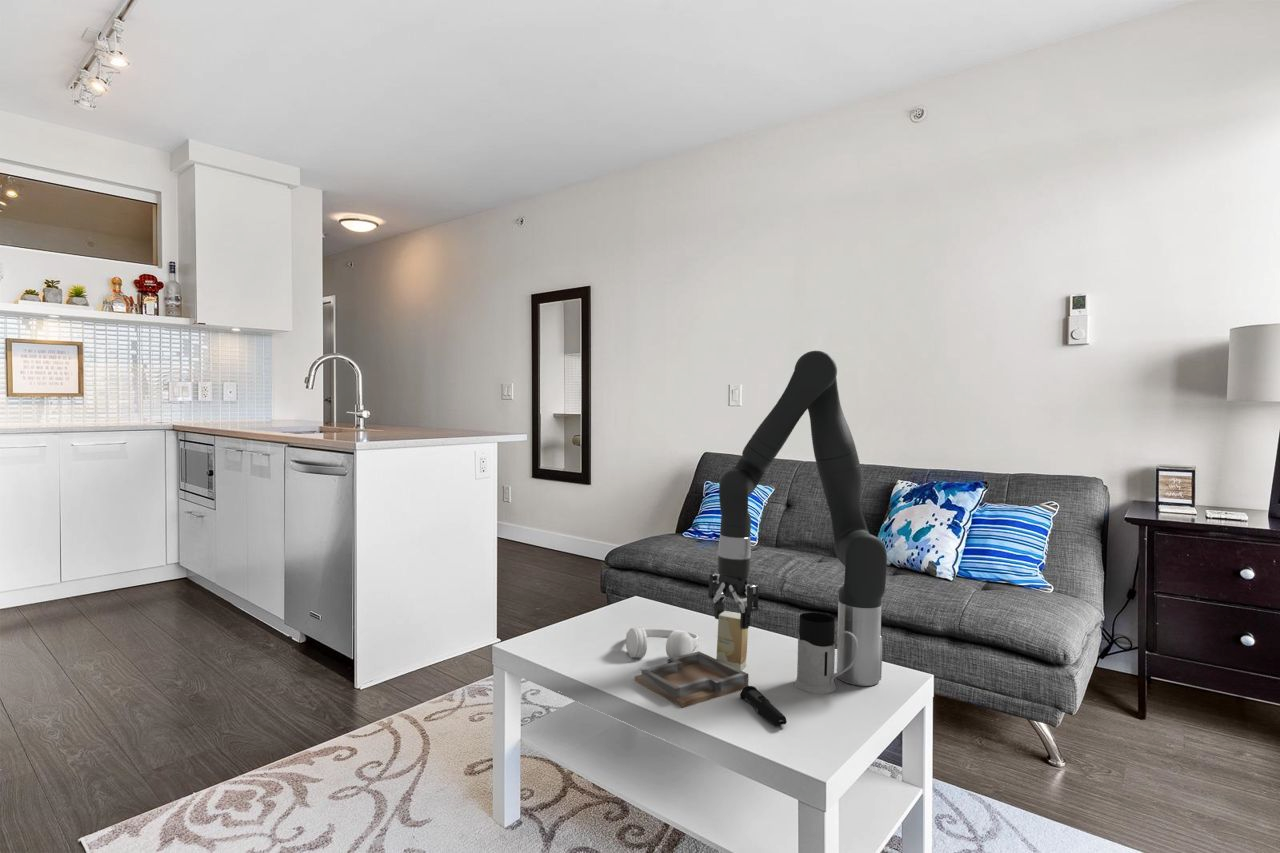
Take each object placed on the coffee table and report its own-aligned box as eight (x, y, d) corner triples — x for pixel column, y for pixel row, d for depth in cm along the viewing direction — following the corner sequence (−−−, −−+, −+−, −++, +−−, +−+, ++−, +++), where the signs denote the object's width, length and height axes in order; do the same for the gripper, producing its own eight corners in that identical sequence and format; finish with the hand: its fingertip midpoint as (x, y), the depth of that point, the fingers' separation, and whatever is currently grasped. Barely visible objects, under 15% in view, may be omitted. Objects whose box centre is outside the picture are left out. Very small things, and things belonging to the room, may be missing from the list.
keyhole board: (698, 663, 158) (698, 651, 158) (748, 687, 145) (748, 673, 145) (635, 680, 147) (635, 666, 147) (682, 707, 134) (682, 692, 134)
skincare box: (715, 666, 157) (716, 614, 157) (722, 660, 161) (723, 610, 160) (741, 671, 154) (743, 618, 154) (747, 665, 158) (749, 614, 157)
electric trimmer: (773, 733, 125) (773, 716, 125) (738, 698, 140) (738, 683, 140) (791, 731, 126) (791, 714, 126) (754, 696, 141) (755, 681, 141)
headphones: (695, 634, 157) (701, 622, 176) (618, 628, 160) (632, 617, 179) (694, 665, 156) (700, 650, 175) (616, 659, 159) (631, 645, 178)
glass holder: (809, 674, 153) (811, 609, 153) (866, 694, 142) (868, 624, 142) (786, 684, 147) (788, 616, 147) (844, 705, 137) (846, 632, 136)
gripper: (768, 559, 153) (765, 629, 153) (724, 547, 164) (722, 613, 165) (744, 562, 149) (741, 634, 149) (702, 550, 160) (699, 617, 160)
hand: (731, 623), depth 157 cm, fingers open, 8 cm apart
